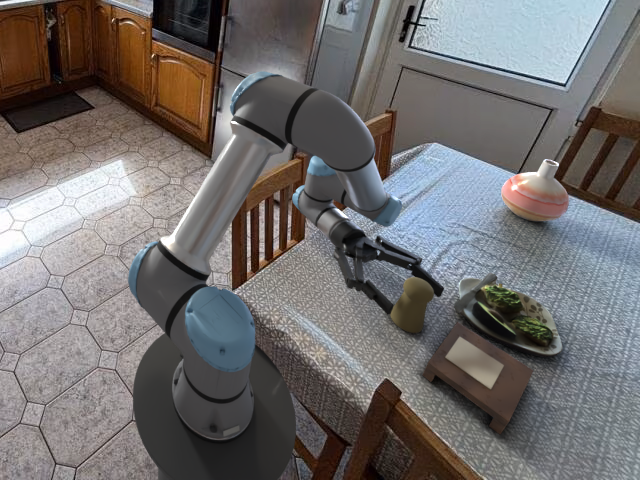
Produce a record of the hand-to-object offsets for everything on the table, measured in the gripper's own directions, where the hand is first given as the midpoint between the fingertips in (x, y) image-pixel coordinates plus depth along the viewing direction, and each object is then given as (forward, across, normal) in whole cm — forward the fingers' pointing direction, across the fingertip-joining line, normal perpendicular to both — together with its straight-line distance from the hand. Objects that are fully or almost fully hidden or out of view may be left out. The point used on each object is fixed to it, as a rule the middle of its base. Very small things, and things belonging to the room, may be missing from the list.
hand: (416, 301), depth 86 cm
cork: (0, 0, -7) cm, 7 cm away
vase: (-16, -61, -7) cm, 64 cm away
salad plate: (+6, -20, -7) cm, 22 cm away
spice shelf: (+13, -1, -6) cm, 14 cm away
